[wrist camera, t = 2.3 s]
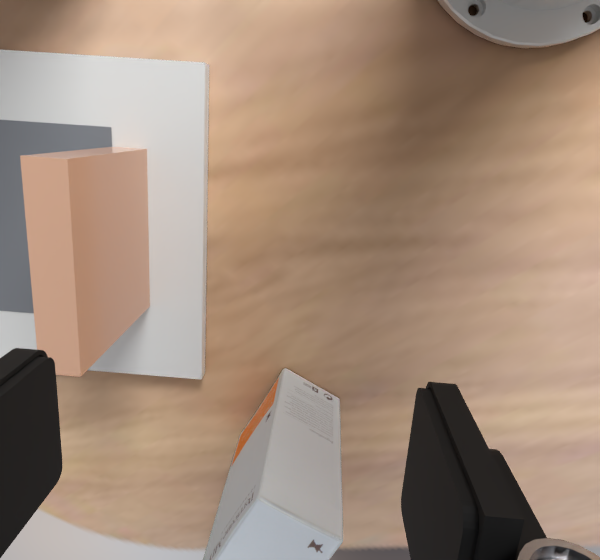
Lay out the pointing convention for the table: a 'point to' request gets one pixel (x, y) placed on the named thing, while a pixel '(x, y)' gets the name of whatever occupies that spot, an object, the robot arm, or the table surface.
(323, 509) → the skincare box
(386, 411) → the table surface
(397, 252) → the table surface
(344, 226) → the table surface
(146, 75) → the mat
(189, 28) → the table surface
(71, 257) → the tile
